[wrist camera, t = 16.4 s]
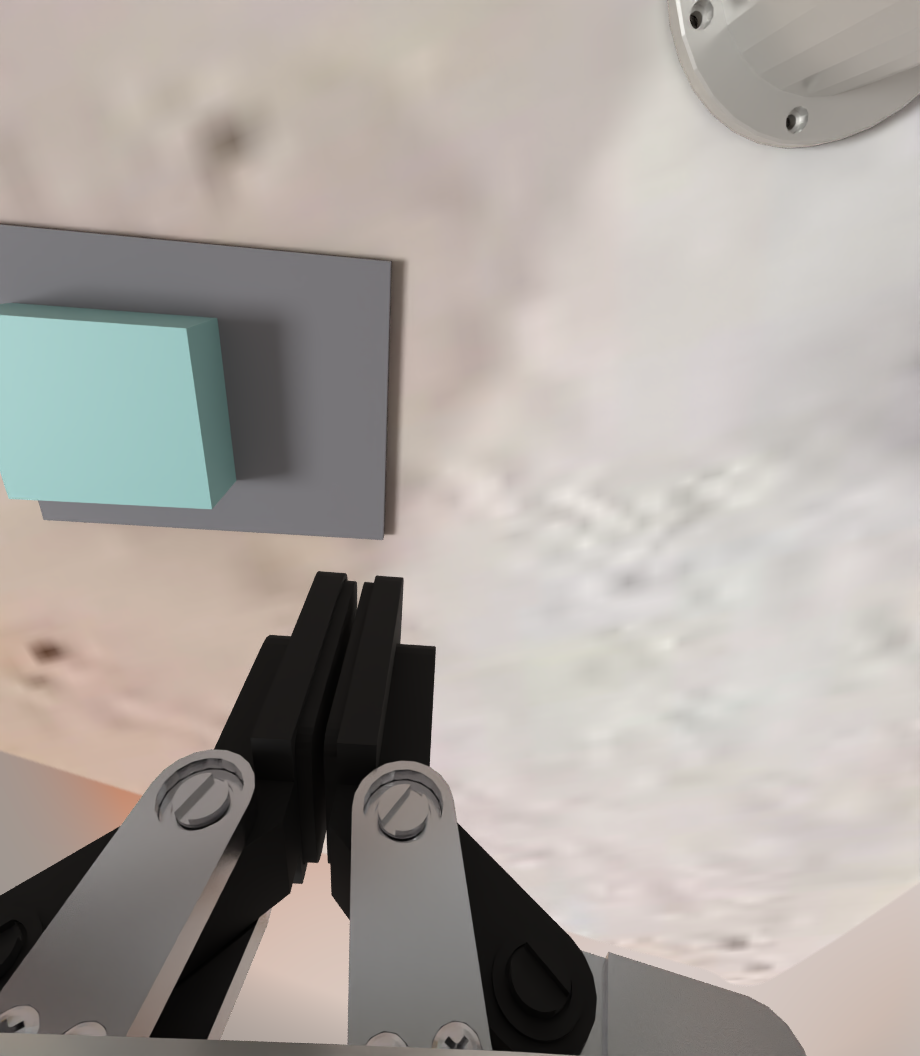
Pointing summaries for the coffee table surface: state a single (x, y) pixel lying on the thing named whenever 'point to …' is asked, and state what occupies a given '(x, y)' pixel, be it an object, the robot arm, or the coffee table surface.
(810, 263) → the coffee table surface
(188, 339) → the teal slab
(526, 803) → the coffee table surface
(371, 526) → the mat
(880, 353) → the coffee table surface
